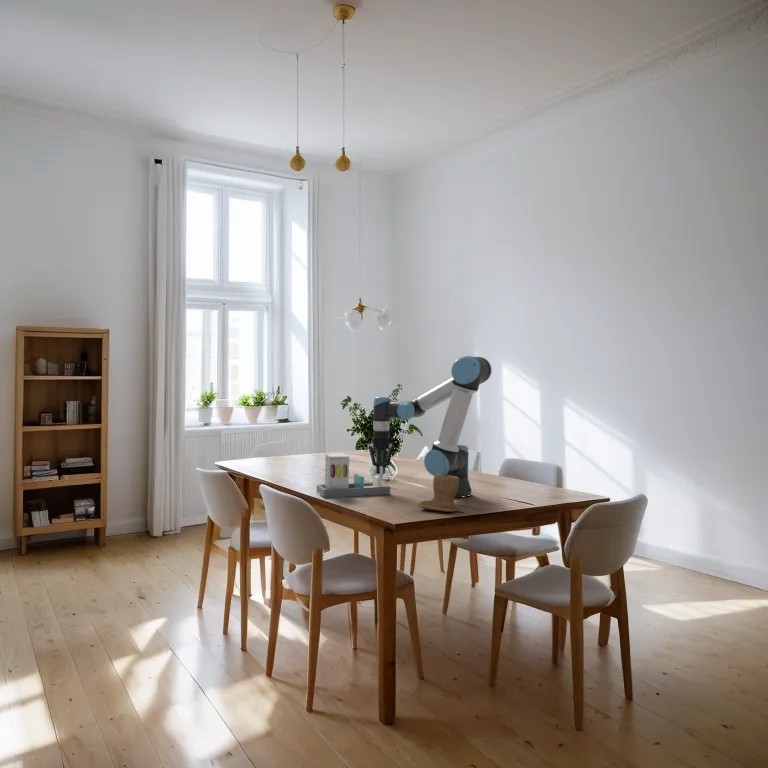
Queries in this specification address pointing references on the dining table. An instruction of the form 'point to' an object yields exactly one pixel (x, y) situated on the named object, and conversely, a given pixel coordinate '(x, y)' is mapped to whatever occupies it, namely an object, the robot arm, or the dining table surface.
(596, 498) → the dining table surface
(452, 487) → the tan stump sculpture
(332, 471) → the supplement box
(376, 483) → the pusher
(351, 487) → the grey tray
